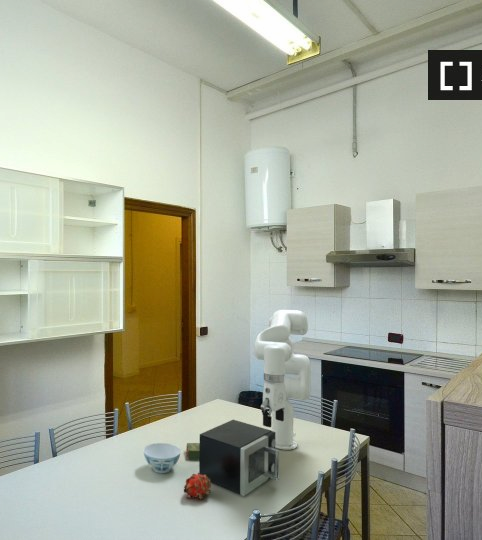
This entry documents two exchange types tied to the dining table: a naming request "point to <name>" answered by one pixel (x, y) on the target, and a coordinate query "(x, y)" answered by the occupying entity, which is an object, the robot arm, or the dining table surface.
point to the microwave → (229, 452)
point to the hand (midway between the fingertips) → (273, 423)
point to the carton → (193, 451)
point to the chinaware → (162, 456)
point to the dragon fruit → (197, 486)
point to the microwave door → (256, 465)
